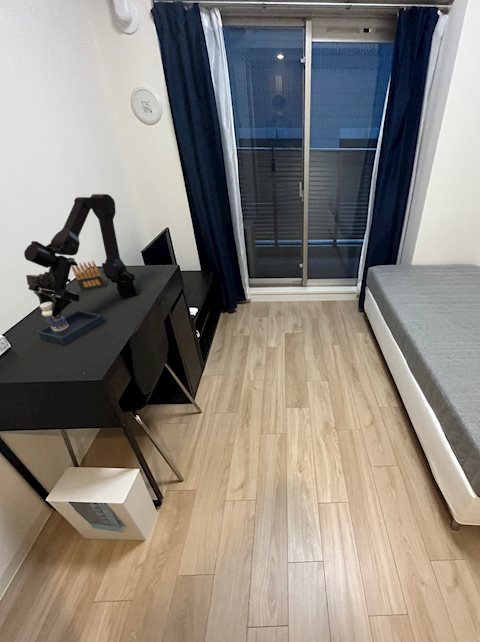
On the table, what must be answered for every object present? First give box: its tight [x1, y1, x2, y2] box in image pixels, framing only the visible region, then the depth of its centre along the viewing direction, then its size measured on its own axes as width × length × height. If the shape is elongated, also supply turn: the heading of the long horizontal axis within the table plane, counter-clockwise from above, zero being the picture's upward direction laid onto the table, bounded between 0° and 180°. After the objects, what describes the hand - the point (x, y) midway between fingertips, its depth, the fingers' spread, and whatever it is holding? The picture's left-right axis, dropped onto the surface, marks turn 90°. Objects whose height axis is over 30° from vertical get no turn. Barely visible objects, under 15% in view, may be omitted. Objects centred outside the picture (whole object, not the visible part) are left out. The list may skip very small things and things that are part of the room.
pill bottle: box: [39, 302, 68, 331], centre depth 118 cm, size 5×5×10 cm
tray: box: [37, 309, 105, 346], centre depth 125 cm, size 17×13×3 cm
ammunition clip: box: [71, 260, 107, 291], centre depth 152 cm, size 11×2×12 cm, turn 109°
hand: (48, 315), depth 117 cm, fingers closed on pill bottle, 5 cm apart
